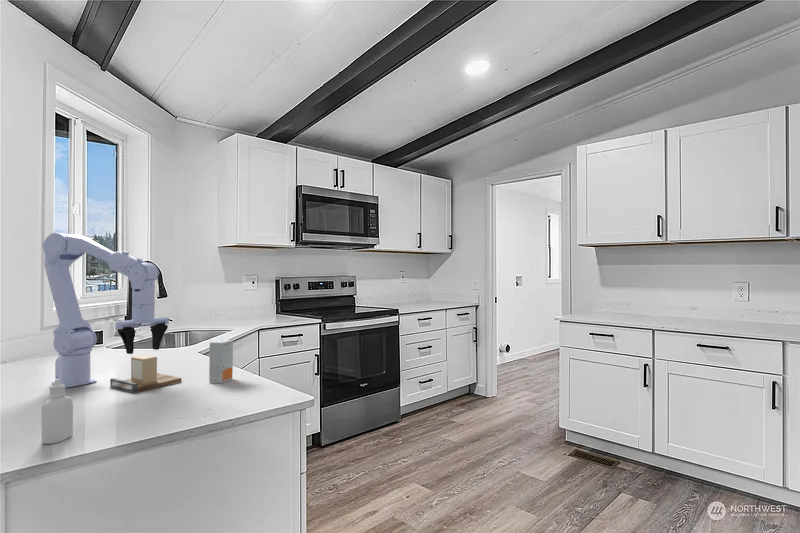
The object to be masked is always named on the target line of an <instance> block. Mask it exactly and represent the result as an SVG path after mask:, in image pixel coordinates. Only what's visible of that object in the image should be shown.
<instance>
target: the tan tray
mask: <svg viewBox="0 0 800 533" xmlns="http://www.w3.org/2000/svg"><path fill="white" fill-rule="evenodd" d="M109 380H110V381H109V384H110V386H109V387H110V388H112V389H116V390H120V391H124V392H129V393H133V394H135V393H136V394H137V393H140V392H145V391H149V390H153V389H157V388H162V387H166V386H170V385H175V384H179V383H182V377H179V376H172V375H167V374H162V373H158V372H157V381H155V382H151V383H146V384H140V383H136V382H131V378H128V379H119V378H114V377H113V378H110V379H109Z"/></svg>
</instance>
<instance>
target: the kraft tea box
mask: <svg viewBox="0 0 800 533" xmlns="http://www.w3.org/2000/svg"><path fill="white" fill-rule="evenodd" d="M130 360H131V361H130V366H131V367H130V368H131V369H130V370H131V371H130V372H131V374H130V379H131V382H136V383H140V384H146V383H151V382H155V381H157V373H158V357H157V356H154V355H147V354H143V355H136V356H132V357H131V359H130Z"/></svg>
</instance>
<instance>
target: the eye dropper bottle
mask: <svg viewBox="0 0 800 533" xmlns="http://www.w3.org/2000/svg"><path fill="white" fill-rule="evenodd" d="M54 380H55V381H54V382H55V384H52V385H51V386H50V387H49V399H47V400H46V401H45V402H44V403H43V404H42V406H41V444H43V445H55V444H57V443H60V442H63V441H65V440H68V439H69V438H71V437H72V435H74V434H73V433H74V409H73V408H74V405H73V404H74V402H73V398H72V397H71V396H67V395H66V387H65V385H63V384H61V382H60V379H55V378H54Z"/></svg>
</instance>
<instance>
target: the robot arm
mask: <svg viewBox="0 0 800 533" xmlns="http://www.w3.org/2000/svg"><path fill="white" fill-rule="evenodd" d="M41 245H42V249H43V253H44V263H43V264H44V269H45V273H46V277H47V281H48V285H49V288H50V293H51V295H52V299H53V304H54V308H55V310H56V314H57V320H58V322H59V324H58V325H57V326H56V327H55V328H54V329H53V331H52V333H53V336H54V338H53V347H54V350H55V352H56V353H58V356H57V358H56V360H55V362H54V363H55V364H54V368H55V373H54V380H55V379H60V382H61V384H63V385H65V389H68V388H74V387H77V386H78V387H79V386H82V385H88V384H92V383H96V382H97V381H98V380H96V379H92V378H91V352H92V351H93V348H94V347H95V346H96V343H97V340H98V338H97V337H98V336H97V335H96V332H94V330H93V329H92V326H91V323H90V322H88V321H87V320H85V319H83V317H82V313H81V308H80V304H79V302H78V297H77V294H76V291H75V286H74V283H73V279H72V275H71V272H70V266H72V264H74V263H75V262H76V261H78V260H79V259H80V258H82V256H84V255H85V254H88V255H89V256H92V257H94V258H96V259H99V260H102V261H104V262H105V263H106V262H107V265H108V267H109V269H111V270H113V271H115V272H117V273H119V274H121V275H124V276H126V277H127V279H128V280H129V282H130V287H131V289H132V290H131V319H129V320H127V319H126V320H120V321H115V329H116V330H117V333H118V335H119V336H120V338H121V340H122V343H123V344H124V347H125V352H126V354H129V355H133V354H134V351H135V350H134V348H135V347H134V345H135V344H134V341H135V335H136V332H137V331H136V330H135V329H133V328H140V327H149V328H150V331H151V337H152V338H151V339H152V342H151V343H152V344H151V345H152V350H156V351H158V350H160V347H161V344H162V340H163V337H164V335H165V333H166V332H167V331H168V326H169V325H168V324H170V323H169V321H170V318H169V317H166V316H164V317H155V314H156V313H155V308H156V307H155V303H156V302H155V300H156V299H155V296H156V295H155V294H156V293H155V290H156V289H155V287H156V286H155V284H156V283H155V282H156V281H157V279H159V275H160V270H159V268H158V266H157V265H156V264H154V263H153V262H144V260H143V258H139V257H138V258H137V257H134V256H132V255H131V254H130V252H129V251H127V250H122V251H121V250H117V251H113V250H111V249H109V248H107V247H105V246H104V245H101V244H100V243H98V242H96V241H94V240H92V239H91V237H87V236H86V237H85V235H81V234H70V233H69V234H67V233H60V232H52V233H49V235H48V236H47V237H46V238H45V239H44V241H43V242H42V244H41ZM54 384H55V381H51V385H54Z"/></svg>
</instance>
